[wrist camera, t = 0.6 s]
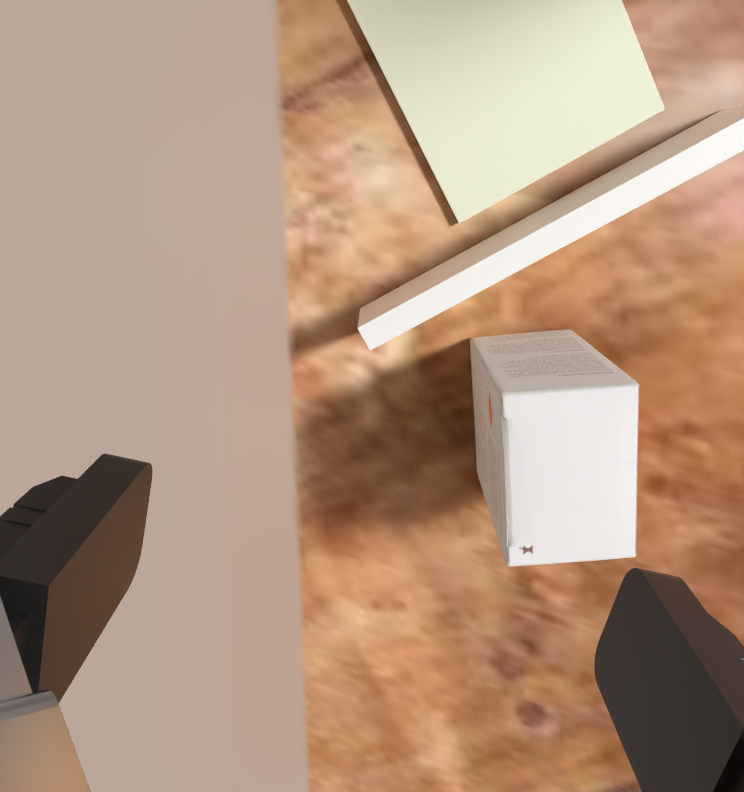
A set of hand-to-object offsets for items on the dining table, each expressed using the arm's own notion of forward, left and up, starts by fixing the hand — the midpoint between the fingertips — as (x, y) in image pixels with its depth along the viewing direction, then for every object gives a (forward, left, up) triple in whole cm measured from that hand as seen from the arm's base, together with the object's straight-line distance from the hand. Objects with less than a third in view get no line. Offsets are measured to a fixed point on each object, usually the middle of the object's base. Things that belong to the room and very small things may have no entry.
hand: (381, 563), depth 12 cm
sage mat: (-11, -8, -26) cm, 30 cm away
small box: (-4, +9, -27) cm, 28 cm away
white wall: (-9, +1, -26) cm, 28 cm away
